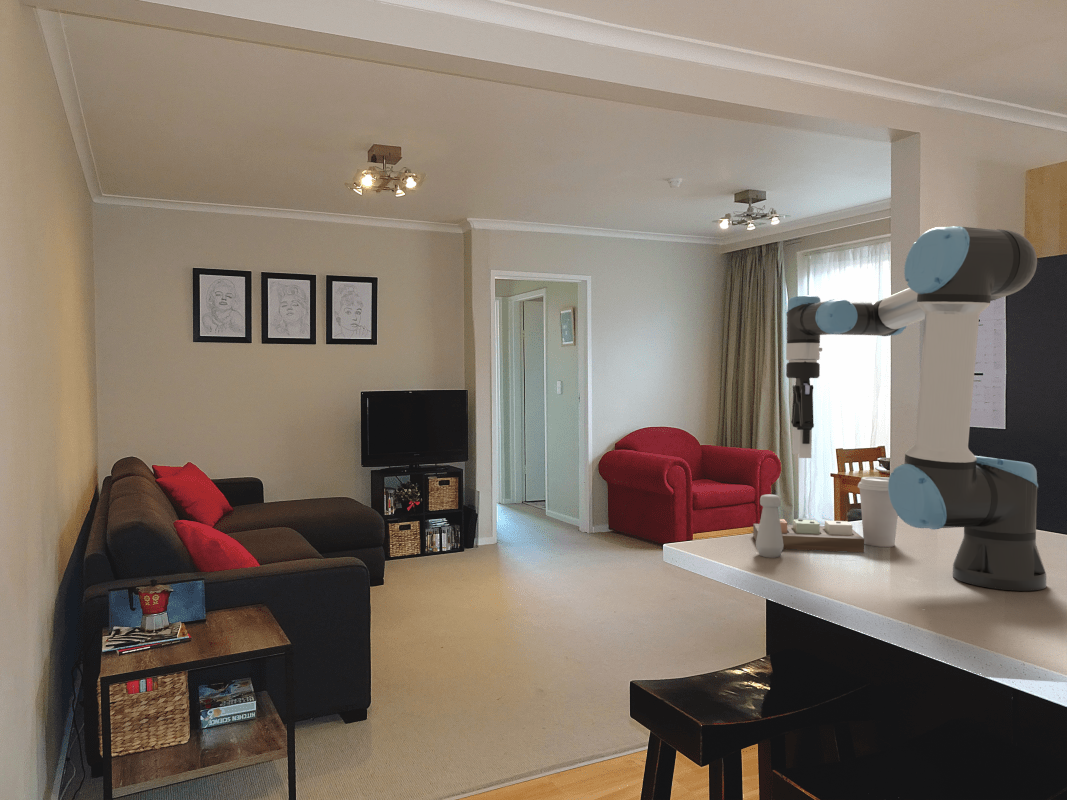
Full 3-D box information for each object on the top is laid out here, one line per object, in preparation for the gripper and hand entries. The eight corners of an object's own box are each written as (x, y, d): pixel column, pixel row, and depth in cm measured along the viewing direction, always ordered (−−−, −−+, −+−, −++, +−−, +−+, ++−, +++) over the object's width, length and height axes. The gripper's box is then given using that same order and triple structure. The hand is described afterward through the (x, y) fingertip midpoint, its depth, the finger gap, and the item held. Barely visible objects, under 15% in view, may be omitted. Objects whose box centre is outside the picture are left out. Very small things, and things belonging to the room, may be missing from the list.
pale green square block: (819, 534, 177) (819, 523, 177) (796, 533, 178) (796, 522, 178) (815, 530, 182) (815, 519, 182) (793, 529, 183) (793, 518, 183)
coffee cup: (909, 548, 175) (910, 481, 175) (866, 548, 176) (867, 481, 175) (890, 539, 185) (892, 476, 185) (850, 539, 185) (851, 476, 185)
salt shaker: (752, 556, 167) (753, 495, 166) (758, 551, 172) (759, 492, 171) (780, 559, 164) (781, 497, 163) (786, 554, 169) (786, 494, 169)
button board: (864, 552, 171) (864, 538, 171) (759, 548, 175) (759, 534, 175) (849, 539, 185) (849, 527, 185) (753, 536, 189) (753, 523, 189)
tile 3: (787, 533, 178) (787, 522, 178) (764, 532, 179) (764, 521, 179) (784, 529, 183) (784, 518, 183) (761, 528, 184) (762, 517, 184)
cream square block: (852, 535, 176) (852, 524, 176) (828, 535, 177) (829, 523, 176) (847, 531, 181) (847, 520, 181) (824, 530, 181) (824, 519, 181)
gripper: (828, 360, 175) (826, 460, 176) (811, 362, 197) (810, 452, 197) (793, 360, 177) (792, 460, 177) (780, 362, 198) (779, 451, 199)
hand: (801, 455), depth 187 cm, fingers open, 9 cm apart
